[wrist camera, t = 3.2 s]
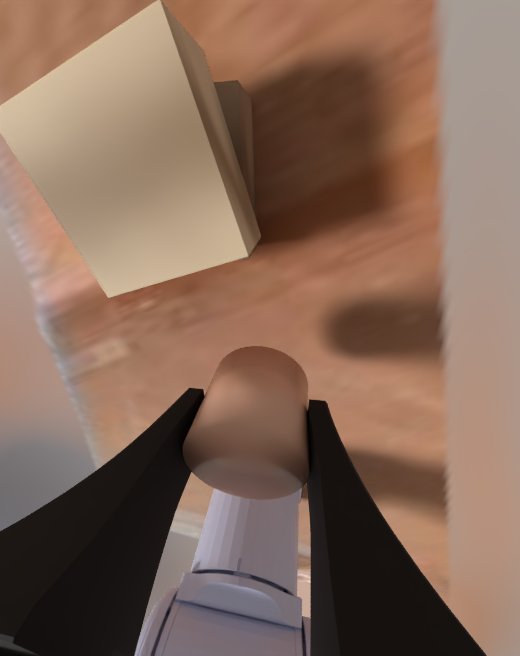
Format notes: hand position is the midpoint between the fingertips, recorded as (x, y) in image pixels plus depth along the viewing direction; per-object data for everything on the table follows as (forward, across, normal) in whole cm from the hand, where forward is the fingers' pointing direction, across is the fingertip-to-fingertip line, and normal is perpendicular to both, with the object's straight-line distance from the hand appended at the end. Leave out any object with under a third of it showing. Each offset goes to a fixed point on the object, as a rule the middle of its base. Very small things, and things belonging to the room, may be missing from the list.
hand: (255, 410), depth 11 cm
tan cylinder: (+2, 0, 0) cm, 2 cm away
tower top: (+4, +4, -8) cm, 10 cm away
